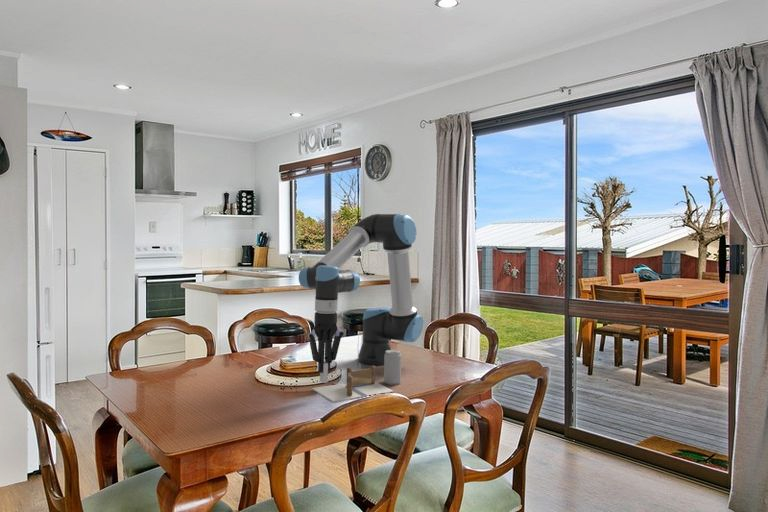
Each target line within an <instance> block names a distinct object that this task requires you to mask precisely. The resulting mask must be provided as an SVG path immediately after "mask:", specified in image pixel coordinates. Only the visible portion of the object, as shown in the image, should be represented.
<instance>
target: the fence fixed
mask: <svg viewBox="0 0 768 512" xmlns="http://www.w3.org/2000/svg"><path fill="white" fill-rule="evenodd" d="M376 366H377V365H370V368H363V369H356V370H353V368H352V367H346V377H347V376H348V373H351V376H353V386H355V385H361V384H368V383H370V384H375V382H376ZM346 387H347V385H346Z"/></svg>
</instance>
